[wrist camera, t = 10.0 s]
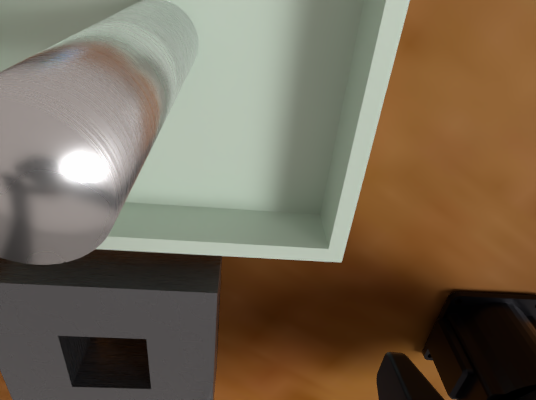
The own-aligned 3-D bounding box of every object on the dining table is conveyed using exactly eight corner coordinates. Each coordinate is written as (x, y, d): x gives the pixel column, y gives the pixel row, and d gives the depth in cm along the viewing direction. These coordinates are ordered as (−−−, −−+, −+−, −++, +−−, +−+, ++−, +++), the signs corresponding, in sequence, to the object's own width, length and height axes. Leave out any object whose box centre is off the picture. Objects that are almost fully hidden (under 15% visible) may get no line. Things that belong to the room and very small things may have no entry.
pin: (198, 2, 16) (105, 104, 6) (198, 82, 18) (125, 269, 8) (116, -6, 16) (-132, 85, 6) (124, 76, 17) (-55, 259, 7)
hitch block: (222, 242, 23) (217, 293, 20) (216, 369, 30) (211, 423, 26) (6, 230, 22) (-38, 281, 19) (48, 363, 29) (21, 419, 25)
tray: (430, -227, 13) (481, -276, 10) (330, 221, 23) (341, 262, 20) (-166, -320, 12) (-309, -410, 9) (-4, 200, 21) (-45, 241, 18)
